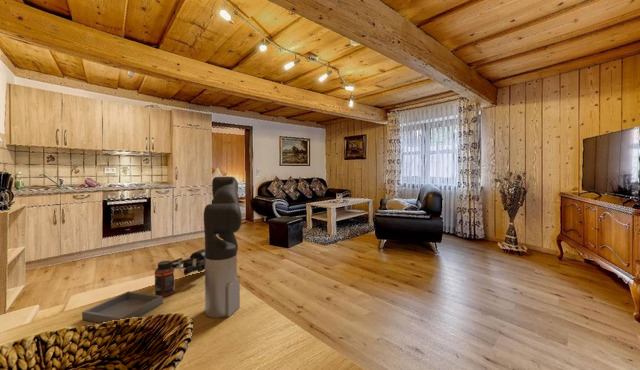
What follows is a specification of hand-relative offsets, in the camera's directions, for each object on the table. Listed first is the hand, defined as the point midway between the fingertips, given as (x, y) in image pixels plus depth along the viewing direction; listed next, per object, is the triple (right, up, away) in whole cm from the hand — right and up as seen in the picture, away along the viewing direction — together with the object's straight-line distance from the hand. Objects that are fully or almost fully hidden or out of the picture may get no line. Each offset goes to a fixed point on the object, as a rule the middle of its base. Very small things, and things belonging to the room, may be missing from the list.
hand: (174, 271), depth 97 cm
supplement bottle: (-1, -7, -4) cm, 8 cm away
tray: (-6, -7, -16) cm, 19 cm away
